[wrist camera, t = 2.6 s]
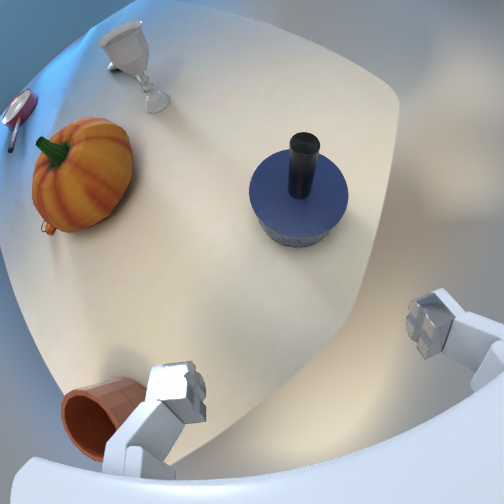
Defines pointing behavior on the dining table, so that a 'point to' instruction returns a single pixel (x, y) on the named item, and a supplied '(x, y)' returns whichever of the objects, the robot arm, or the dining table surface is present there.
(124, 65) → the chalice
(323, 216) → the lid
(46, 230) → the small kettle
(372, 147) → the dining table surface
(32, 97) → the frying pan
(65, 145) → the pumpkin
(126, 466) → the robot arm
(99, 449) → the pot
